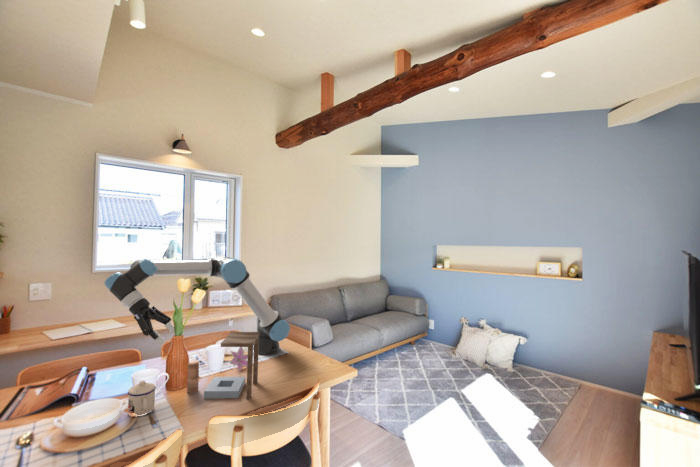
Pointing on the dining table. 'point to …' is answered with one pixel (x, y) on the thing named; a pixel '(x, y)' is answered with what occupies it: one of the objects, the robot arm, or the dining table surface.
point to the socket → (224, 387)
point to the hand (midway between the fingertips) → (170, 338)
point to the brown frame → (248, 341)
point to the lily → (239, 358)
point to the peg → (193, 377)
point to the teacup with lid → (141, 398)
